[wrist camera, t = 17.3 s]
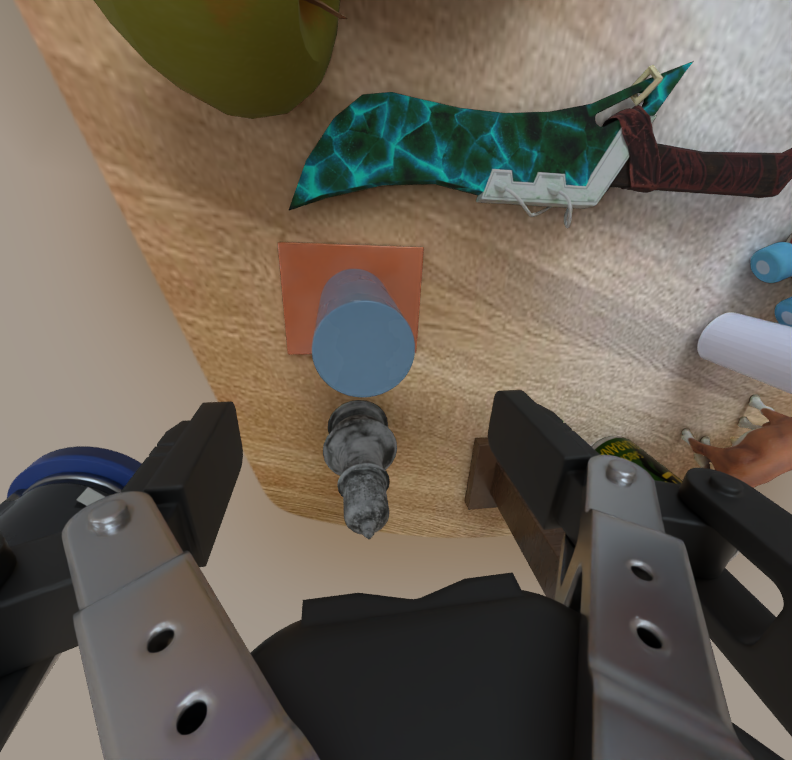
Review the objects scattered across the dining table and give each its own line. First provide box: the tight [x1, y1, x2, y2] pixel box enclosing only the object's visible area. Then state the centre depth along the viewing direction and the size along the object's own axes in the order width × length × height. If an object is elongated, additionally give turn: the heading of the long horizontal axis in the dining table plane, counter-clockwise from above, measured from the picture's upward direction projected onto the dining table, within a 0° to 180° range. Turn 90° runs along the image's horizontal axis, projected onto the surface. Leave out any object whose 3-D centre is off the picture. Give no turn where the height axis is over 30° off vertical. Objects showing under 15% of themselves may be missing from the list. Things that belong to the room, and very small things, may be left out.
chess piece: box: [323, 400, 397, 539], centre depth 26 cm, size 6×6×12 cm
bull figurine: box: [682, 395, 792, 488], centre depth 34 cm, size 4×13×8 cm, turn 113°
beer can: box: [592, 436, 739, 561], centre depth 32 cm, size 5×5×12 cm
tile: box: [278, 242, 424, 354], centre depth 26 cm, size 10×8×1 cm
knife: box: [288, 61, 792, 228], centre depth 23 cm, size 37×3×10 cm
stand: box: [465, 438, 565, 600], centre depth 29 cm, size 8×8×16 cm
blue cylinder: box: [312, 269, 415, 397], centre depth 21 cm, size 5×5×10 cm
